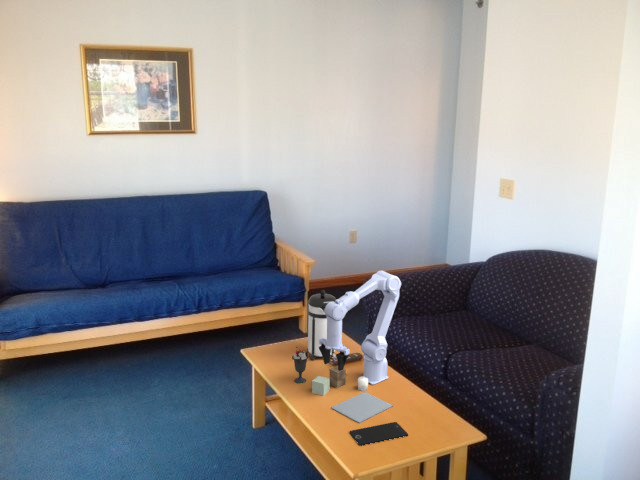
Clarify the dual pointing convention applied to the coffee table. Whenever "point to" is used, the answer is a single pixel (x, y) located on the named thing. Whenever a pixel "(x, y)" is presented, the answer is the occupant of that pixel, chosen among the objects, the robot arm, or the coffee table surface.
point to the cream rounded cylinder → (362, 383)
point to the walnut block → (337, 377)
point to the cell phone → (378, 433)
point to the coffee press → (318, 322)
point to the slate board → (362, 407)
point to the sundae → (300, 364)
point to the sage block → (320, 385)
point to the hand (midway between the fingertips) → (333, 366)
